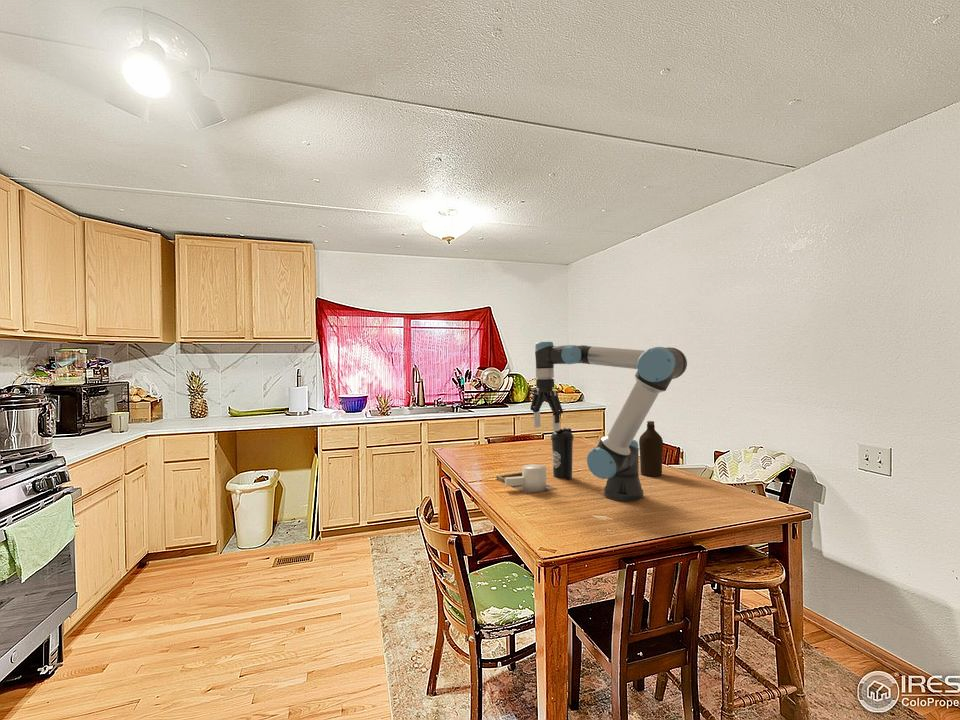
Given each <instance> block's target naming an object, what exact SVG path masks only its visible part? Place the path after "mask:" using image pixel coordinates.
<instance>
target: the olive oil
mask: <svg viewBox="0 0 960 720" xmlns="http://www.w3.org/2000/svg"><path fill="white" fill-rule="evenodd" d="M646 422H647V424H646V430H645V431H644V432H643V433H642V434H641V435H640V437H639V440H638V448H639V462H640V463H639V464H640V475H642V476H644V477H651V478H657V477H661V476H663V453H664V451H663V449H664V442H663V438H662V436H661V435H660V433H659V432H657V431H656V429H655V428H656V427H655V421H652V420H648V421H646Z"/></svg>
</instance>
